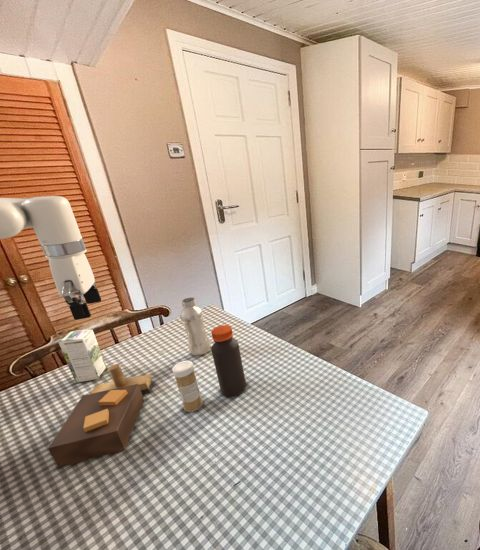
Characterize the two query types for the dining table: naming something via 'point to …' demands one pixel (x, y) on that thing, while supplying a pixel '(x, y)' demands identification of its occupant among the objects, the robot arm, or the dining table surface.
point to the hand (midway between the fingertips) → (89, 309)
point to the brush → (124, 381)
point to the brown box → (102, 440)
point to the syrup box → (83, 355)
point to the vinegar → (228, 361)
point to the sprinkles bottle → (187, 385)
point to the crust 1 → (96, 420)
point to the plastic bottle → (194, 327)
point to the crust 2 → (113, 397)
